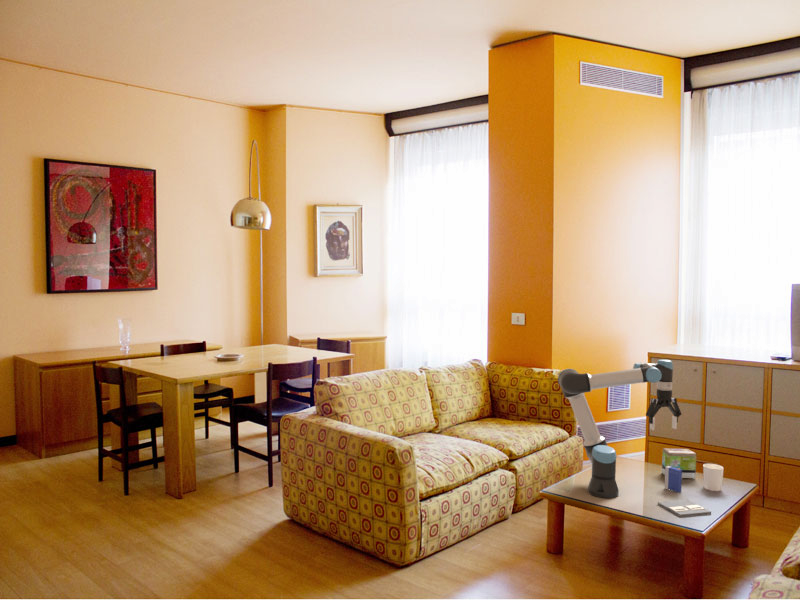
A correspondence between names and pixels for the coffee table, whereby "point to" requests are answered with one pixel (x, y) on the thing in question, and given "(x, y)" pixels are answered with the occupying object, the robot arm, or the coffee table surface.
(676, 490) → the walkman
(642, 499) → the coffee table surface
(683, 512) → the label board
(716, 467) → the candle holder
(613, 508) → the coffee table surface
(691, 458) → the tea box
